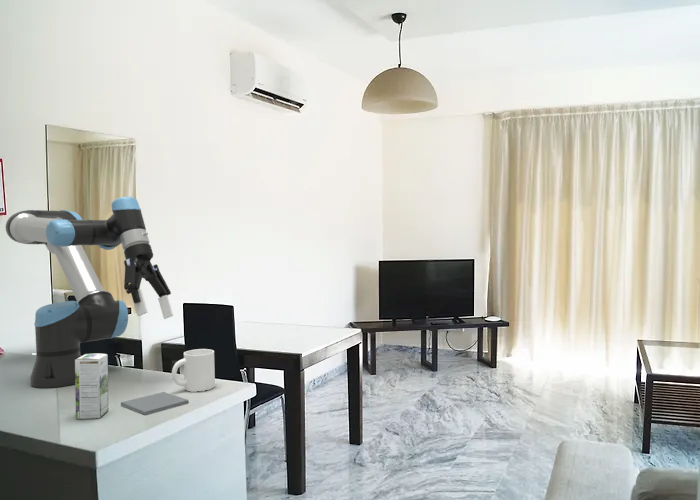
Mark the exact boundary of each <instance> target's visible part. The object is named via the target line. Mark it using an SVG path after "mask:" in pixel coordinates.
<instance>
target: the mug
mask: <svg viewBox="0 0 700 500" xmlns="http://www.w3.org/2000/svg"><path fill="white" fill-rule="evenodd" d="M182 365H183V373H184V374H183V379H184V380H181V379H179V377H178V374H177V373H178V371H179V370H178V369H179V368H180V367H181V366H182ZM171 369H172V370H171V378H172V379H171V380H172V381H173V382H174V384H175V385H177V386H180V387H181V386H182V387H184V388H185V390H186V391H187V392H189V391H190V392H191V393H198V392H197V391H203V392H206V391H205V390H208V391H210V390H209V389H211V390H213V389H214V388H215V385H216V384H215V383H216V377H215V376H216V375H215V374H216V373H215V370H216V369H215V350H213V349H208V348H198V349H197V348H196V349H191V350H187V351H183V358H181V359H179V360H178V361H176V362H175V363H174V365H173V367H172V368H171ZM212 388H213V389H212Z"/></svg>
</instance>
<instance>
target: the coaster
mask: <svg viewBox="0 0 700 500" xmlns="http://www.w3.org/2000/svg"><path fill="white" fill-rule="evenodd" d="M189 403H190V402H189V399H187V398H183V397H181V396H178V395H175V394H171V393H169V392H166V391H162V392H157V393H154V394H149V395H144V396H142V397H137V398H134V399H130V400H126V401H121V402H120V407H124V408H126V409H129V410H131V411H134V412H137V413H138V414H142V415H143V416H146V415H151V414H154V413H158V412H160V411H165V410H168V409H173V408H176V407H179V406H182V405H186V404H189Z"/></svg>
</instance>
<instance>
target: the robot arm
mask: <svg viewBox="0 0 700 500" xmlns="http://www.w3.org/2000/svg"><path fill="white" fill-rule="evenodd" d="M139 204H140V203H139V202H138V199H136V198H135V197H133V196H122V197H118V198H116V199H114V200H113V201H112V203H111V212H112V214H111V215H110V217H108V219H83V218H82V216H81V215H80V214H78V213H77V212H75V211H72V210H65V209H64V210H63V209H61V210H41V209H36V210H34V209H28V210H20V211H18V212H16V213H13V214H12V215H11V216H10V217H8V219H7V220H6V223H5V232H6V234H7V236H8V237H9V238H10V239H11V240H12V241H13V242H16V243H19V244H24V245H45V247H46V249H47V250H48V252H50V253H51V254H54V255H55V257H56V259H57V261H58V263H59V265H60V267H61V270H62V272H63V274H64V276H65V278H66V280H67V282H68V285H69V287H70V290H71V292H72V293H73V295H74V298H75V300H66V301H58V302H53V303H50V304H45V305H43V306H41V307H39V308H38V309H36V311H35V318H34V323H33V324H34V329H35V330H34V331H35V332H34V333H35V352H36V354H35V355H36V359H35V362H34V364H33V368H32V371H31V374H30V378H29V379H30V380H29V382H30V384H31V385H30V386H31V387H33V386H34V388H40V389H41V388H43V389H47V388H59V387H60V388H61V387H66V386H71V385H75V360H76V359H77V358H79V357H81V356H82V355H81V354H82V353H81V343H88V342H94V341H95V342H96V341H100V340H102V341H103V340H107V339H109V340H111V339H112V338H117V337H120V336H121V335H123V334H124V333H125V331H126V330H127V327H128V323H129V310H128V306H127V305H126V302H125V301H123V300H120V299H117V300H115V298H114V297H113V294H112V293H111V292H110V291H107V290H104V287H103V286H102V284H101V282H100V279H99V277H98V276H97V273H96V271H95V270H94V267H93V265H92V263H91V261H90V259H89V258H88V257H89V256H88V255H87V253H86V251H85V249H84V248H83V246H98V247H99V248H100V249H103V250H105V251H109V250H114V249H115V248H117V247H118V246H120V245H121V248H122V250H123V254H124V257H125V260H124V263H123V264H124V279H123V280H124V281H123V282H124V283H123V288H124V290H125V291H126V294H127V295H129V294H131V297H132V298H131V299H132V302H133V305H134V309H135V313H136V316H137V317H141V316H143V315H145V314H147V313H149V312H148V309H147V306H146V302H145V298H144V295H143V290H141V289H140V286H141V284H142V280H143V279H144V281H146V282H147V283H149V285H151V287H152V289H153V291H154V292H155V293H156V294H157V296H158V299H157V300H158V303H159V307H160V310H161V313H162V317H163V319H164V320H166V319H168V318H171V317H173V316H174V314H173V310H172V307H171V303H170V300H169V296H170V295H171V294H172V292H171V290H170V288H169V286H168V285H167V282H166V281H165V279H164V277H163V275H162V273H161V271H160V267H159V266H158V264H153V265H152V263H151V260H152V259H153V257H154V253H153V249H152V245H151V244H150V240H149V236H148V234H149V233H148V231H147V228H146V224H145V221H144V217H143V213H142V209H141V208H140V205H139Z"/></svg>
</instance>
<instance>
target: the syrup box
mask: <svg viewBox="0 0 700 500" xmlns="http://www.w3.org/2000/svg"><path fill="white" fill-rule="evenodd" d="M108 357H109V356H108V354H107V353H99V352H98V353H96V352H95V353H84V354H83V355H81V357H79V358H77V359H76V360H75V384H74V386H75V391H74V392H75V419H76V420H89V419H90V420H93V419H100V418H102V417H103V416H104V415H106V413H107V412H109V371H108V369H109V365H108V363H109V361H108V360H109V359H108Z"/></svg>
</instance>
